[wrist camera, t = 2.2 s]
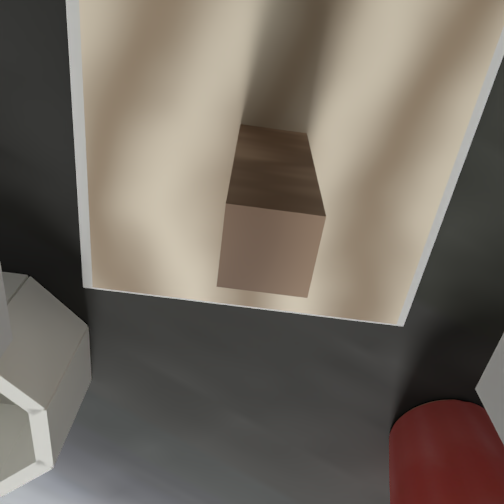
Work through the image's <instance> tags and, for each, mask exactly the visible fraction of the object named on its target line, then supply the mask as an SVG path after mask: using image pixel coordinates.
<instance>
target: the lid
mask: <svg viewBox="0 0 504 504" xmlns="http://www.w3.org/2000/svg"><path fill="white" fill-rule="evenodd" d="M79 13H80V34H81V55H82V76H83V97H84V118H85V138H86V159H87V180H88V201H89V222H90V243H91V264H92V285H93V287H94V288H103V289H111V290H119V291H127V292H135V293H144V294H152V295H160V296H168V297H176V298H185V299H193V300H201V301H209V302H217V303H225V304H234V305H242V306H250V307H258V308H266V309H275V310H283V311H291V312H299V313H307V314H316V315H324V316H332V317H340V318H348V319H356V320H365V321H373V322H381V323H389V324H397V322H398V319H399V316H400V313H401V311H402V308H403V305H404V302H405V299H406V297H407V294H408V291H409V288H410V285H411V283H412V280H413V277H414V274H415V272H416V269H417V266H418V263H419V260H420V258H421V255H422V252H423V249H424V247H425V244H426V241H427V238H428V235H429V233H430V230H431V227H432V224H433V222H434V219H435V216H436V213H437V210H438V208H439V205H440V202H441V199H442V196H443V194H444V191H445V188H446V185H447V183H448V180H449V177H450V174H451V171H452V169H453V166H454V163H455V160H456V158H457V155H458V152H459V149H460V146H461V144H462V141H463V138H464V135H465V132H466V130H467V127H468V124H469V121H470V119H471V116H472V113H473V110H474V107H475V105H476V102H477V99H478V96H479V94H480V91H481V88H482V85H483V82H484V80H485V77H486V74H487V71H488V68H489V66H490V63H491V60H492V57H493V55H494V52H495V49H496V46H497V43H498V41H499V38H500V35H501V32H502V30H503V27H504V0H79Z"/></svg>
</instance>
